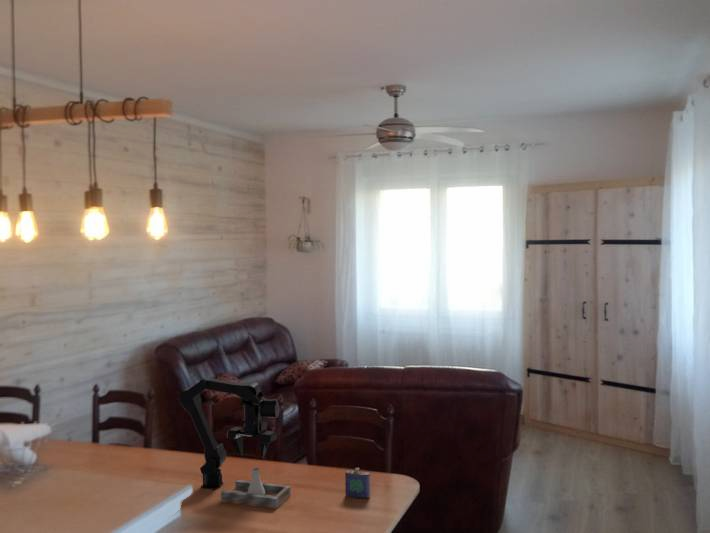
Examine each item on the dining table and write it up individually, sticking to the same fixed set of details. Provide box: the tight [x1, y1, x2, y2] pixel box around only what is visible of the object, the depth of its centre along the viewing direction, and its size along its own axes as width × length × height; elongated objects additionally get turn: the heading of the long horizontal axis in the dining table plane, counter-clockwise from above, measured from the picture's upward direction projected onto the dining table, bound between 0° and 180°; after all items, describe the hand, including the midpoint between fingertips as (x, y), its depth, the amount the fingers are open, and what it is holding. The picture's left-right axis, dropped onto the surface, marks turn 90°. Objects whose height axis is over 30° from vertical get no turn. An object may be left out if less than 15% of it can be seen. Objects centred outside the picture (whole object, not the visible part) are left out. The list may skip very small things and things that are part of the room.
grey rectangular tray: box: [220, 479, 292, 510], centre depth 231 cm, size 22×12×4 cm, turn 72°
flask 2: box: [344, 467, 371, 500], centre depth 232 cm, size 9×3×11 cm, turn 74°
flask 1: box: [247, 467, 266, 496], centre depth 231 cm, size 7×7×10 cm
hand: (252, 457), depth 241 cm, fingers open, 9 cm apart
